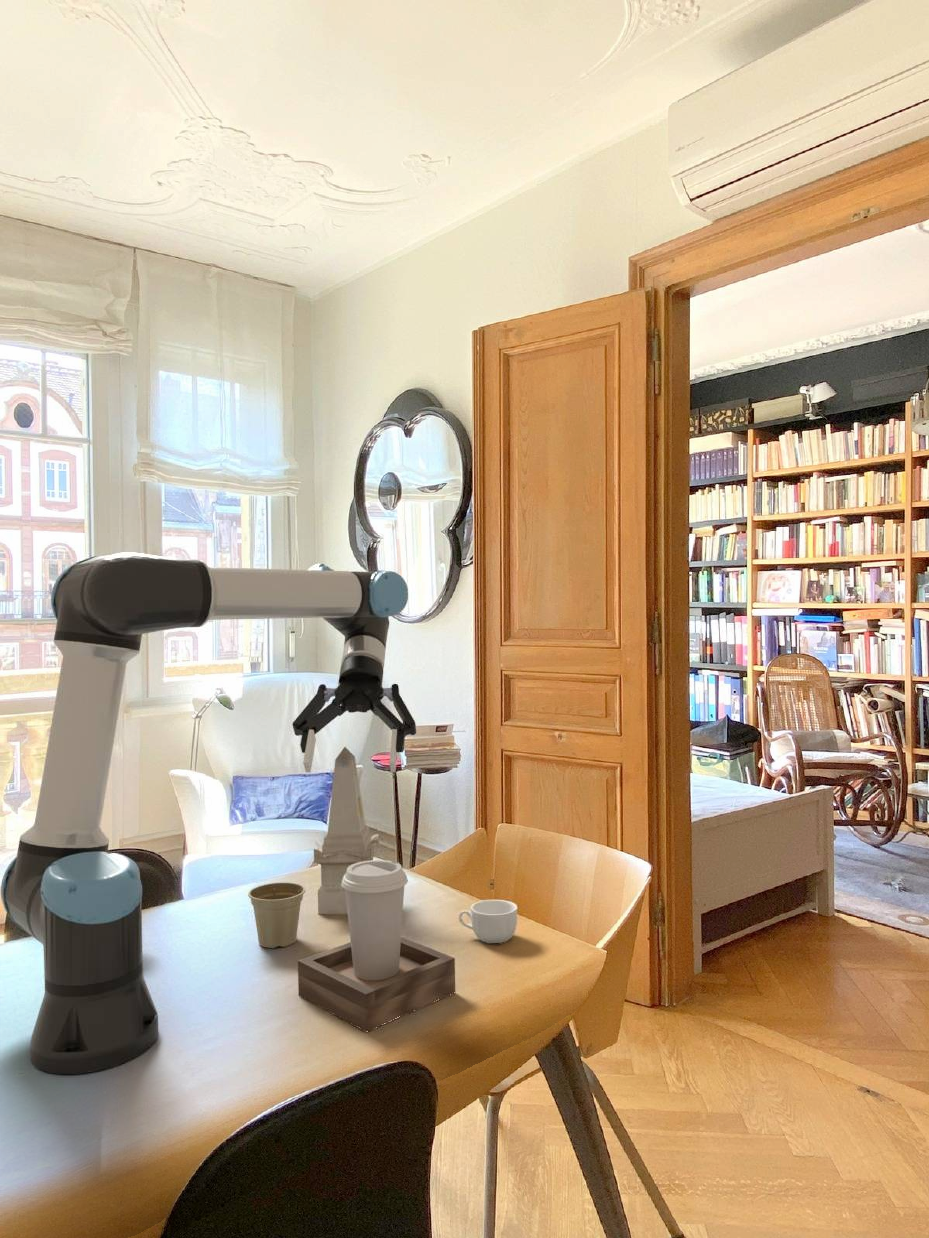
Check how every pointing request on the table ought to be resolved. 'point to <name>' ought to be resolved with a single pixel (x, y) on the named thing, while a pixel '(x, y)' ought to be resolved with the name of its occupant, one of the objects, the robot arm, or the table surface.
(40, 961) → the table surface
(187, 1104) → the table surface
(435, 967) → the walnut stand
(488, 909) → the teacup
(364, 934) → the coffee cup
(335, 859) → the miniature monument
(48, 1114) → the table surface
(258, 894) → the flower pot
